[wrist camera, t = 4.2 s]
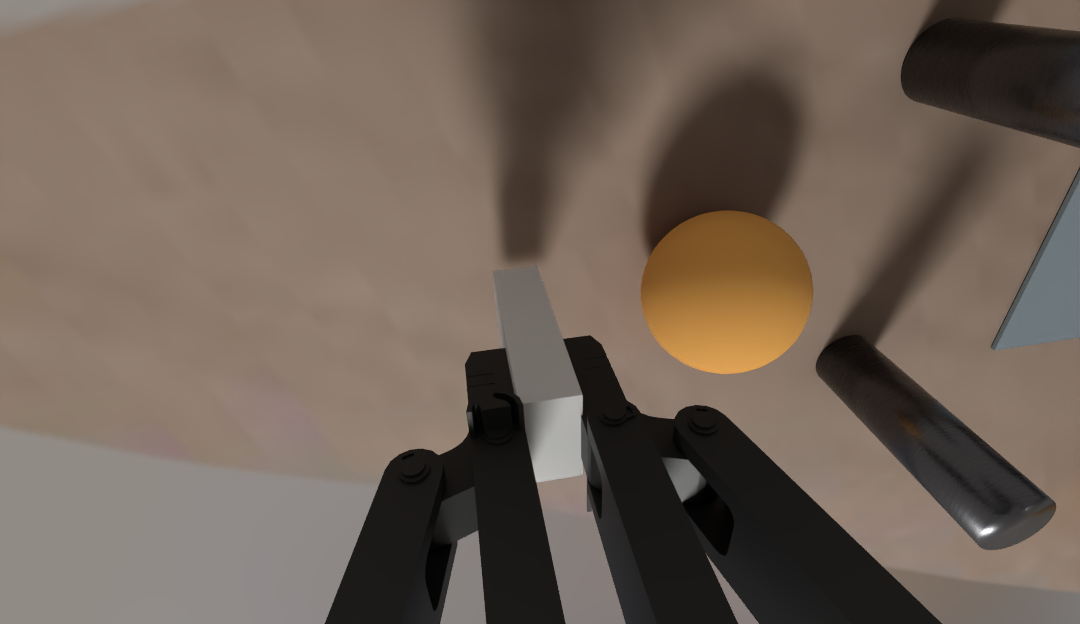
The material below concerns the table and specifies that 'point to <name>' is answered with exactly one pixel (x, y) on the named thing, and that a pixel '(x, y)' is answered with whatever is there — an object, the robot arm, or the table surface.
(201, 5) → the table surface
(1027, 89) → the post
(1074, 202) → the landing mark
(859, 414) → the post
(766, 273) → the ball
